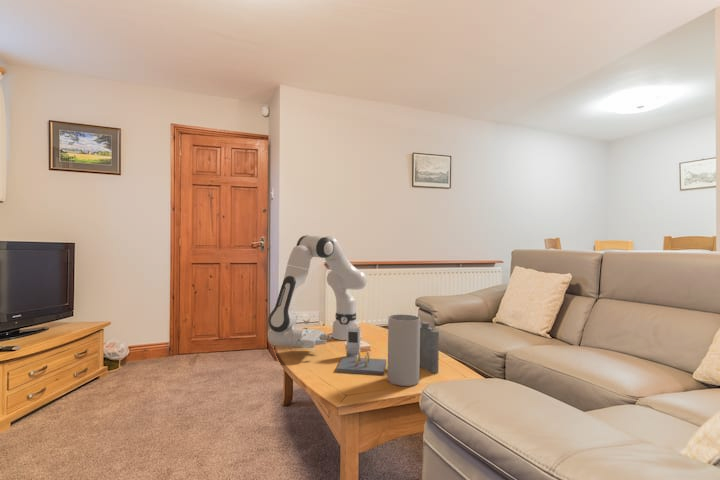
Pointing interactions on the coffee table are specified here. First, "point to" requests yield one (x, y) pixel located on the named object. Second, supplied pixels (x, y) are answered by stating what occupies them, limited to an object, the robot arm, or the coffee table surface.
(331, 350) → the coffee table surface
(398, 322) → the cylinder vase
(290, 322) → the robot arm
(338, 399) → the coffee table surface
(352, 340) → the drive
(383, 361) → the pin tray
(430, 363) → the hip flask
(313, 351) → the coffee table surface
